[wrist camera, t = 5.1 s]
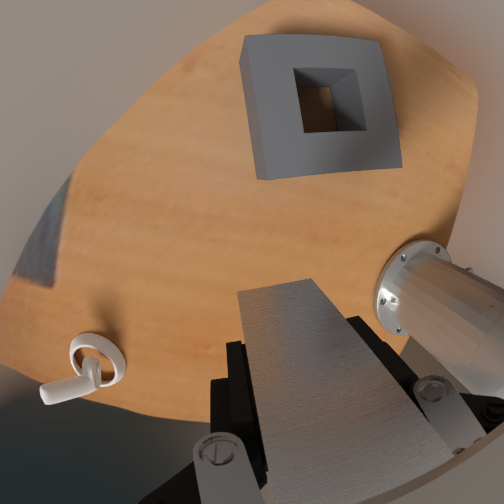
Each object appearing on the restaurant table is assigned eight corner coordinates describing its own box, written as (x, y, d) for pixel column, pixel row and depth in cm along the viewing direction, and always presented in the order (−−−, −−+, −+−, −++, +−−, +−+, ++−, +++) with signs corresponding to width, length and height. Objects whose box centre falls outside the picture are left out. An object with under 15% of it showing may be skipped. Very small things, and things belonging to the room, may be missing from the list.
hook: (16, 332, 22) (37, 357, 19) (97, 321, 33) (129, 338, 30) (25, 390, 23) (50, 421, 20) (99, 371, 33) (131, 392, 30)
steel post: (311, 278, 13) (509, 534, 1) (314, 340, 14) (439, 571, 2) (237, 291, 13) (306, 633, 1) (248, 353, 14) (304, 621, 2)
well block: (352, 60, 24) (379, 41, 19) (369, 167, 28) (402, 167, 22) (239, 61, 23) (245, 35, 18) (256, 179, 27) (267, 180, 21)
